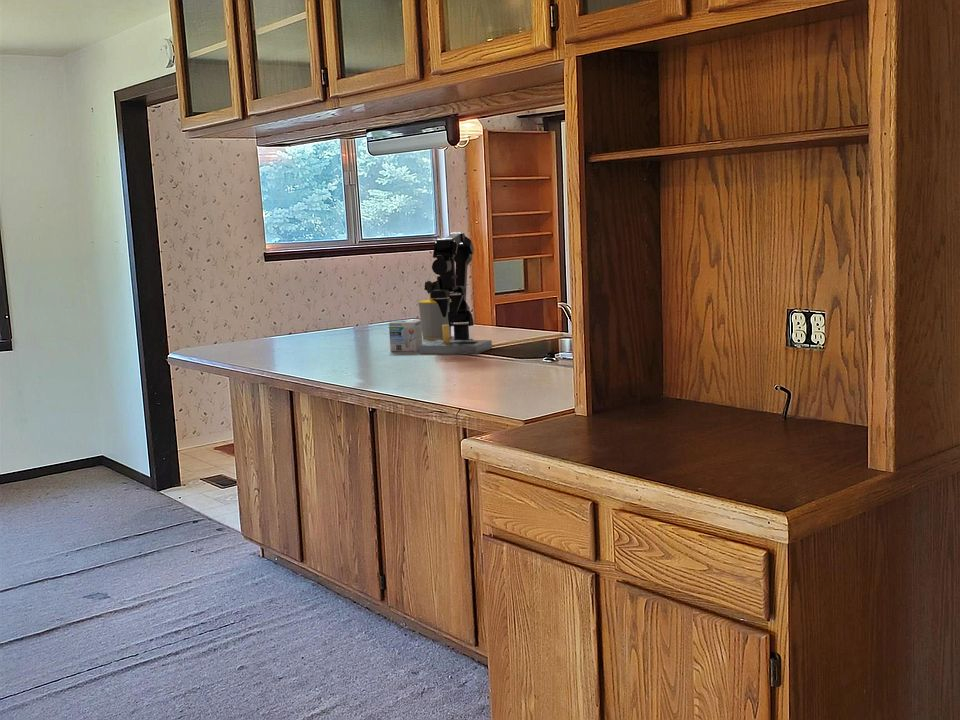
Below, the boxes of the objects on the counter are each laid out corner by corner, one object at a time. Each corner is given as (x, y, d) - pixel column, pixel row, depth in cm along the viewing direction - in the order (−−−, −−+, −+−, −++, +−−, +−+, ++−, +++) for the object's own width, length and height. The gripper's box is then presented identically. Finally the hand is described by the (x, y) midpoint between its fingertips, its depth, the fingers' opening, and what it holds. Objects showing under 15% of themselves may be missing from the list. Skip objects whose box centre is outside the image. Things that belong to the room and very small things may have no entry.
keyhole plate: (437, 347, 351) (436, 339, 350) (491, 348, 342) (491, 340, 342) (420, 353, 338) (419, 345, 338) (476, 354, 329) (476, 345, 329)
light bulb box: (389, 351, 349) (387, 322, 347) (396, 348, 355) (394, 320, 353) (417, 351, 345) (415, 321, 344) (423, 348, 352) (421, 319, 350)
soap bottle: (459, 335, 383) (456, 283, 380) (438, 339, 373) (435, 286, 370) (435, 334, 392) (432, 282, 388) (414, 338, 382) (410, 285, 378)
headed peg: (444, 350, 344) (442, 324, 343) (454, 350, 343) (453, 324, 341) (439, 351, 340) (437, 326, 339) (450, 352, 339) (448, 325, 337)
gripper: (438, 271, 356) (440, 312, 358) (415, 275, 339) (418, 318, 341) (465, 270, 351) (467, 312, 354) (444, 274, 334) (446, 318, 337)
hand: (449, 315), depth 347 cm, fingers open, 9 cm apart
